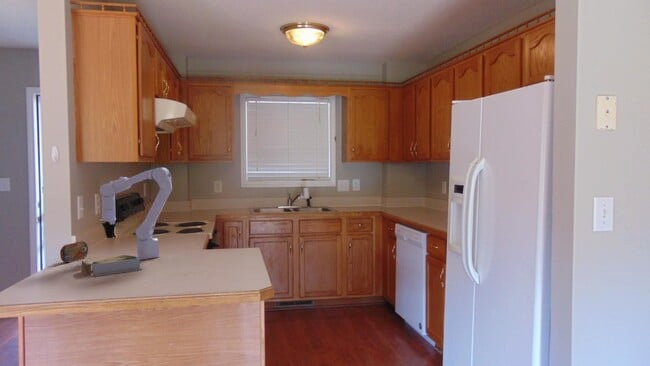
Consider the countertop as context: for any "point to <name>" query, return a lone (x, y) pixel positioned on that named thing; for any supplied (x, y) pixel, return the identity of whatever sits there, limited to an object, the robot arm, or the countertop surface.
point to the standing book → (86, 267)
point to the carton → (115, 259)
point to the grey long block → (116, 267)
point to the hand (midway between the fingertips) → (109, 237)
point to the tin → (74, 251)
